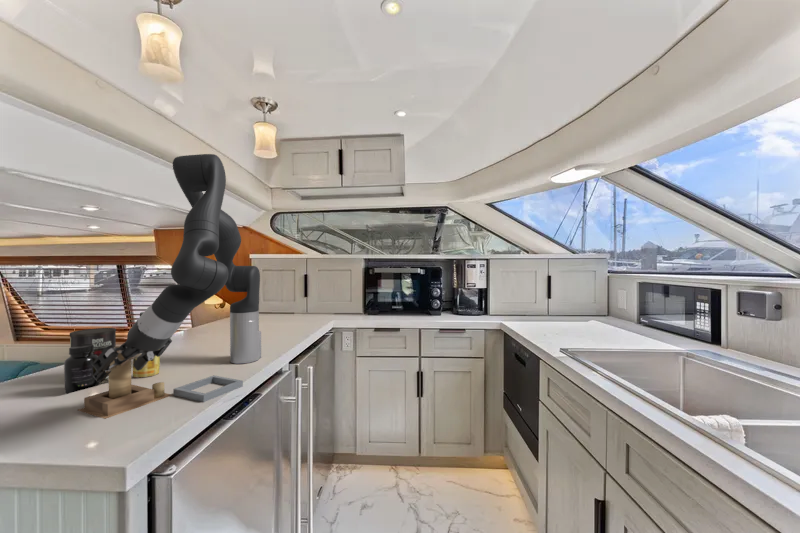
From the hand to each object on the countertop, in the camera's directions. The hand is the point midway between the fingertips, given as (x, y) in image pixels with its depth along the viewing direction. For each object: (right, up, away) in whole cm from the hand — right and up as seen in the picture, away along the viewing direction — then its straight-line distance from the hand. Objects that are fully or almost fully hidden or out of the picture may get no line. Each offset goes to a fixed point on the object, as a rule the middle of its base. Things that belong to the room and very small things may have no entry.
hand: (117, 373), depth 78 cm
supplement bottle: (-20, -9, +13) cm, 26 cm away
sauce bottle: (-9, -9, +21) cm, 25 cm away
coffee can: (-27, -9, +23) cm, 37 cm away
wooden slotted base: (+1, -9, +1) cm, 9 cm away
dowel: (+1, -7, 0) cm, 7 cm away
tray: (+16, -9, +8) cm, 20 cm away
